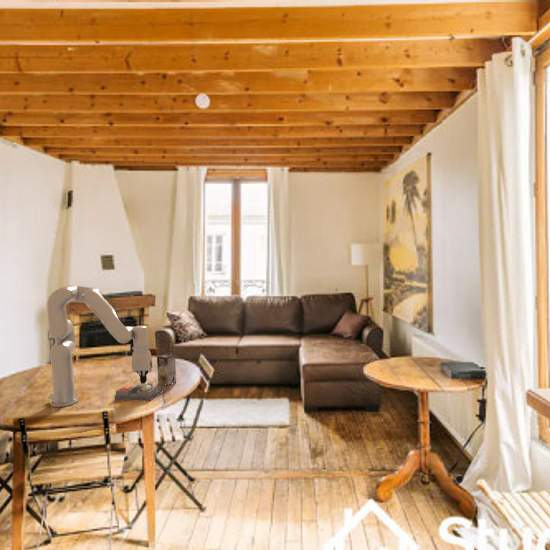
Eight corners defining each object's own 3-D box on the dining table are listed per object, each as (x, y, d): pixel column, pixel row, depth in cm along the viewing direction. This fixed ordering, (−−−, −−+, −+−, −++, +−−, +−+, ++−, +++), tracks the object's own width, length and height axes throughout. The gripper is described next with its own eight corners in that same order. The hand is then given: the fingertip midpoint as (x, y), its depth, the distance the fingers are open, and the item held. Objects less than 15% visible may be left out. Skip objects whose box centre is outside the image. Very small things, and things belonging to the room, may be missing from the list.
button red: (119, 393, 206) (118, 389, 206) (124, 390, 210) (124, 386, 210) (127, 393, 205) (127, 389, 205) (132, 390, 209) (132, 386, 209)
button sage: (139, 391, 203) (139, 388, 203) (144, 388, 208) (144, 385, 208) (148, 392, 202) (148, 388, 202) (153, 389, 207) (152, 385, 207)
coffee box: (157, 383, 229) (156, 356, 228) (166, 380, 234) (164, 353, 233) (168, 386, 223) (166, 357, 223) (177, 382, 229) (175, 355, 228)
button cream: (136, 387, 211) (136, 384, 211) (141, 384, 216) (141, 381, 216) (144, 388, 210) (144, 384, 210) (149, 385, 215) (149, 381, 215)
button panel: (114, 399, 205) (114, 391, 204) (131, 389, 219) (130, 381, 219) (149, 401, 200) (149, 392, 200) (164, 391, 215) (163, 382, 215)
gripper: (124, 350, 210) (127, 384, 211) (150, 350, 207) (152, 385, 208) (132, 347, 217) (135, 380, 218) (157, 347, 214) (159, 380, 215)
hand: (143, 382), depth 213 cm, fingers closed
